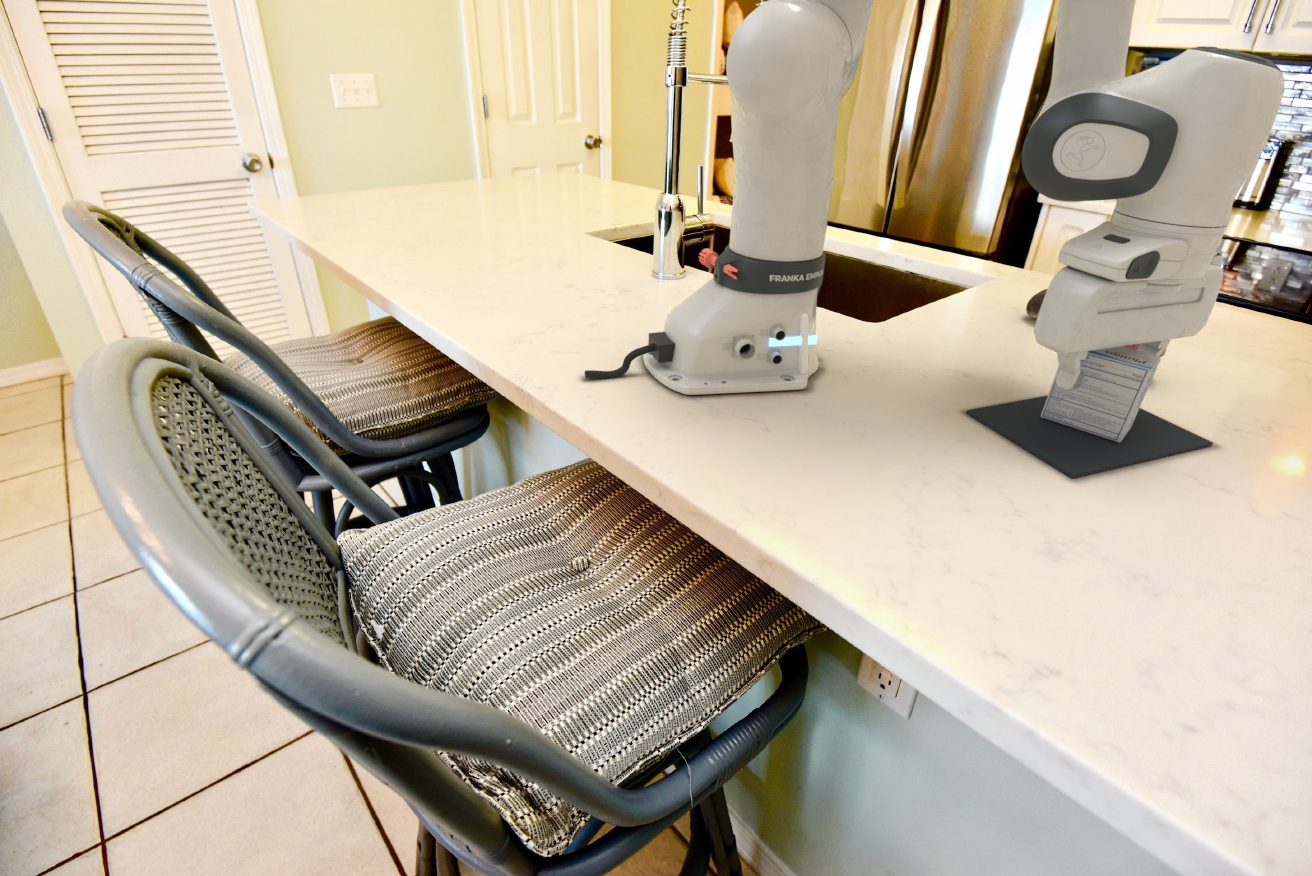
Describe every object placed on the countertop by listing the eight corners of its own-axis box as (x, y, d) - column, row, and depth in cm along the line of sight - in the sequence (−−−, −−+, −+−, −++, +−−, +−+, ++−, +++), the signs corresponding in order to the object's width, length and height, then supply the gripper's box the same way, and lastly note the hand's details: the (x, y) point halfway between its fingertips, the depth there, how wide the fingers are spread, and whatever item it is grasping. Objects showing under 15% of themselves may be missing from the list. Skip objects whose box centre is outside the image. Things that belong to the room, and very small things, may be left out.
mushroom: (1099, 315, 95) (1088, 274, 96) (1037, 330, 98) (1027, 290, 98) (1085, 325, 102) (1075, 286, 103) (1028, 339, 105) (1018, 301, 106)
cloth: (1072, 478, 63) (1073, 475, 63) (965, 413, 75) (966, 409, 74) (1211, 445, 70) (1213, 442, 70) (1094, 389, 81) (1095, 386, 81)
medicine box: (1130, 430, 71) (1163, 356, 67) (1119, 445, 68) (1153, 368, 64) (1051, 405, 76) (1078, 334, 72) (1038, 418, 73) (1065, 344, 69)
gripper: (1196, 235, 68) (1141, 358, 75) (1048, 245, 62) (1002, 379, 69) (1262, 251, 63) (1196, 382, 70) (1109, 263, 57) (1053, 407, 64)
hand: (1099, 381), depth 69 cm, fingers open, 8 cm apart
